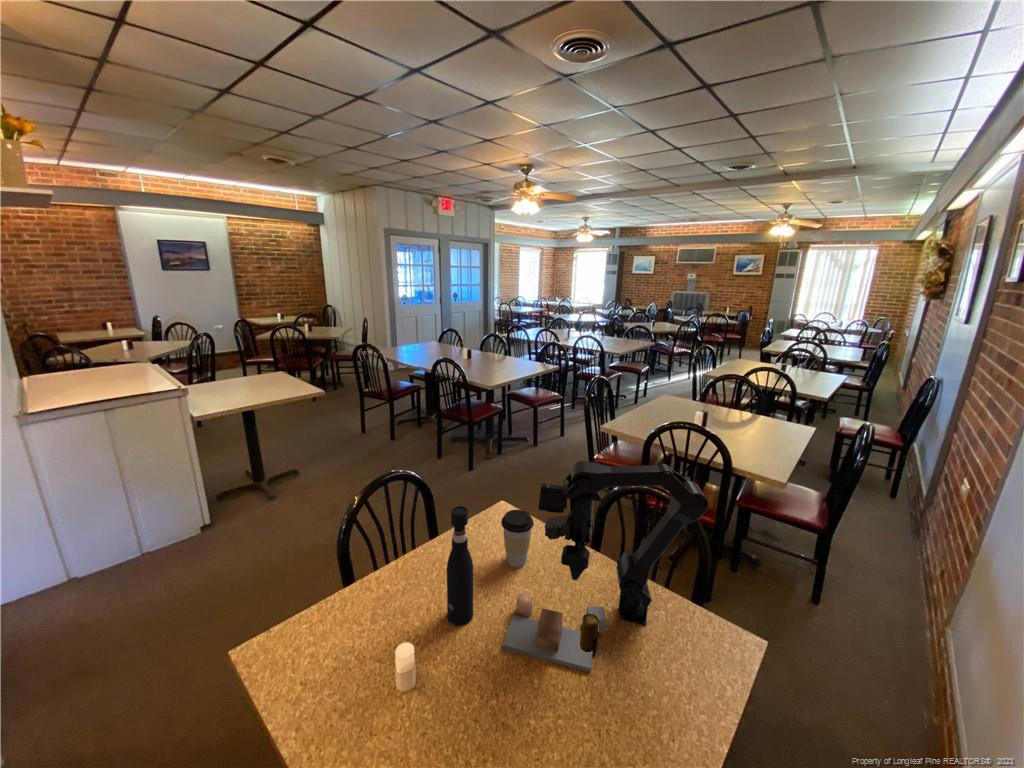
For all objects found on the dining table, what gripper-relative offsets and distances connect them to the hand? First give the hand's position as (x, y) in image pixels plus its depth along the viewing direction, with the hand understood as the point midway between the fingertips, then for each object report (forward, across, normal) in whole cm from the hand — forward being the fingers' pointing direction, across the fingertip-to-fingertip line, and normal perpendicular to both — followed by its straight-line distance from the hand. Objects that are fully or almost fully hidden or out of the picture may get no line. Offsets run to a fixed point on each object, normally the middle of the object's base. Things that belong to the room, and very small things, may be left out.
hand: (576, 567), depth 106 cm
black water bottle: (+12, +11, -27) cm, 32 cm away
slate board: (+12, +13, -4) cm, 18 cm away
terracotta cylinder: (+12, +6, -12) cm, 18 cm away
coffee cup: (+12, -12, -19) cm, 26 cm away
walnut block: (+11, +13, -4) cm, 17 cm away
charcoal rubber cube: (+12, +5, +6) cm, 14 cm away
